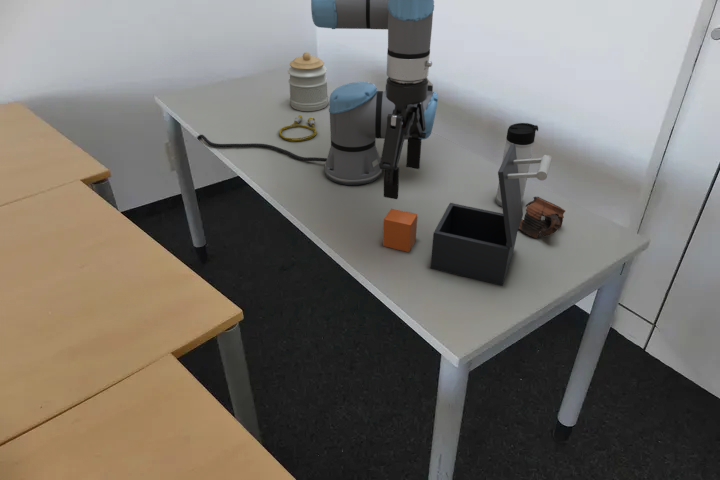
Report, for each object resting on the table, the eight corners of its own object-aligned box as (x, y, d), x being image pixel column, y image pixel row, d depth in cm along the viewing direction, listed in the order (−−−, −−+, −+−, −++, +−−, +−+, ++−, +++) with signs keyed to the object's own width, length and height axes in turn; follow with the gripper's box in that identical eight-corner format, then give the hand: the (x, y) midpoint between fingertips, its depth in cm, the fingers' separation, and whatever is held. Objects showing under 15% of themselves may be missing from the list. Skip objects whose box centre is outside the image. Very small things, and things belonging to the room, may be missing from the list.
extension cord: (331, 127, 170) (331, 121, 169) (300, 145, 160) (299, 139, 158) (301, 119, 176) (300, 113, 175) (268, 136, 165) (268, 129, 164)
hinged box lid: (497, 172, 94) (544, 169, 91) (510, 144, 104) (552, 140, 100) (507, 247, 102) (550, 247, 98) (518, 214, 111) (558, 214, 108)
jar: (296, 96, 192) (293, 45, 182) (332, 99, 190) (330, 47, 180) (285, 110, 182) (280, 57, 172) (322, 113, 180) (320, 59, 169)
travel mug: (523, 210, 130) (539, 132, 118) (495, 207, 131) (508, 130, 120) (522, 197, 135) (537, 121, 123) (495, 194, 136) (508, 119, 125)
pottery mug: (507, 222, 126) (524, 190, 124) (539, 235, 129) (556, 204, 127) (533, 240, 115) (552, 205, 113) (567, 253, 118) (586, 219, 116)
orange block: (382, 246, 118) (383, 219, 114) (390, 235, 122) (391, 208, 118) (409, 252, 116) (410, 225, 112) (415, 240, 120) (417, 214, 116)
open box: (430, 268, 112) (433, 232, 107) (446, 236, 121) (450, 202, 116) (502, 286, 107) (509, 249, 102) (513, 251, 116) (520, 216, 111)
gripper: (404, 103, 87) (399, 215, 99) (446, 60, 106) (437, 159, 118) (361, 97, 90) (361, 207, 102) (409, 56, 108) (404, 153, 120)
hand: (402, 181), depth 110 cm, fingers open, 13 cm apart
